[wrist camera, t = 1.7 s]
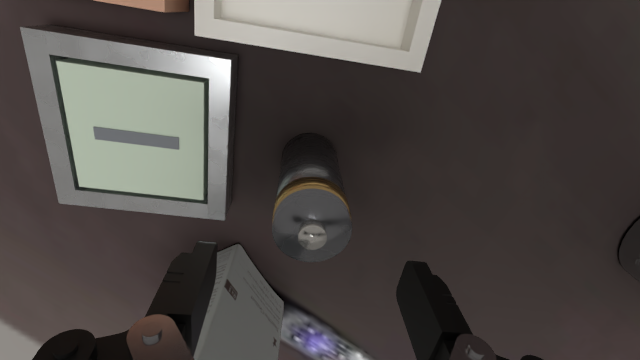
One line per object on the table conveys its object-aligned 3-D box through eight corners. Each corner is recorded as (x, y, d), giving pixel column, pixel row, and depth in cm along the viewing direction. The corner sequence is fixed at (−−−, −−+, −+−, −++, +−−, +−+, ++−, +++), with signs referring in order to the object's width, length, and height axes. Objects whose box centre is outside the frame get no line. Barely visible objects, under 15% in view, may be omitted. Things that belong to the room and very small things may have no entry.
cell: (341, 136, 24) (362, 207, 16) (331, 186, 26) (345, 274, 17) (284, 128, 24) (274, 197, 15) (278, 179, 26) (266, 266, 17)
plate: (210, 78, 21) (203, 83, 19) (208, 189, 24) (202, 200, 23) (72, 57, 20) (54, 61, 19) (91, 176, 24) (78, 187, 22)
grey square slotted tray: (238, 54, 21) (231, 60, 19) (231, 202, 26) (224, 220, 24) (51, 24, 20) (19, 26, 18) (80, 185, 25) (59, 203, 23)
